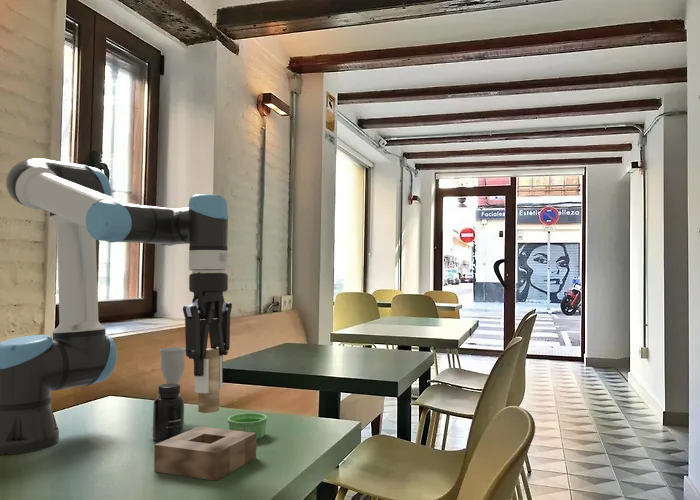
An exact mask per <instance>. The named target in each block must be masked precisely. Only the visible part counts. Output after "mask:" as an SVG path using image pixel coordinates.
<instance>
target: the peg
mask: <svg viewBox="0 0 700 500" xmlns="http://www.w3.org/2000/svg"><path fill="white" fill-rule="evenodd" d="M205 359H209V393H198V394H197V396H198V397H197V398H198V402H197V403H198V404H197V405H198V406H197V407H198V411H197V412H198V413H201V414H209V413H210V414H212V413H216V412H217V413H218V412H219V411H220V389H219V349H217V348H211V347H210V348H208V347H207V350H206V358H205Z"/></svg>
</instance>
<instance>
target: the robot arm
mask: <svg viewBox="0 0 700 500" xmlns="http://www.w3.org/2000/svg"><path fill="white" fill-rule="evenodd" d="M5 185H6V190H7V193H8V194H9V196H10V198H12V199H13V200H14V201H15V202H16V203H18V204H20V205H22V206H24V207H26V208H29V209H33V210H42V209H43V210H44V211H47V212H49V219H50V221H52V222H53V223H54V224H55V225H56V241H57V243H56V244H57V245H56V247H57V279H58V280H57V282H58V286H57V287H58V288H57V289H58V312H59V313H58V317H59V318H58V320H59V324H58V326H56V328H55V329H54V330H53V331H52V336H51V335H49V334H34V335H25V336H19V337H14V338H9V339H6V340H4V341H1V342H0V456H1V455H14V454H15V455H17V454H23V453H29V452H34V451H39V450H43V449H46V448H49V447H51V446H53V445H56V443H58V442H59V440H60V429H59V426H58V424H57V421H56V418H55V415H54V412H53V408H52V405H51V404H52V402H51V401H52V392H54V391H60V390H61V391H62V390H65V389H66V390H67V389H72V388H77V387H79V388H80V387H84V386H85V387H89V386H92V385H93V384H98V383H102V382H104V381H106V380H107V379H108V378H109V377H110V375H111V374H112V373H113V371H114V369H115V366H116V363H117V359H118V358H117V357H118V349H117V345H116V343H115V341H114V339H113V337H112V336H110V335H108V334H106V333H107V332H106V327H105V326H104V325H103V324H102V323H100V320H99V300H98V298H99V295H98V269H97V267H98V266H97V265H98V264H97V263H98V262H97V241H102V242H108V243H134V244H135V243H139V244H153V245H154V244H155V245H158V246H169V247H172V246H176V245H185V244H186V245H187V244H189V246H188V270H189V271H191V273H190V274H189V276H188V290H189V292H191V293H193V298H192V300H191V301H192V303H191V304H189V305H183V306H182V311H183V315H184V325H185V326H184V327H185V328H184V329H185V330H184V332H185V333H184V334H185V348H186V351H185V356H186V357H188V359H189V360H193V375H194V393H209V359H205V358H206V350H207V348H208V340H209V343H210V348H217V349H219V390H221V389H223V362H224V359H223V357H224V356H227V355H228V353H229V350H230V348H231V347H230V344H231V343H230V341H231V312H232V308H233V304H232V302H226V301H225V298H224V294H223V293H224V292H228V290H229V289H228V288H229V287H228V286H229V283H228V282H229V275H228V274H227V273H225V271H227V270H229V269H228V259H229V258H228V257H229V255H228V249H229V248H228V241H229V240H228V238H229V237H228V236H229V235H228V229H229V228H228V227H229V225H228V224H229V211H228V203H227V202H228V201H227V198H225V197H224V196H222V195H219V194H211V193H210V194H209V193H206V194H205V193H203V194H194V195H191V196H190V197H189V200H188V201H189V202H188V206H187V207H181V208H179V207H178V208H175V207H174V208H169V207H162V206H161V207H160V206H154V205H153V206H152V205H142V204H141V205H140V204H137V203H136V204H135V203H128V202H124V201H121V200H119V199H116V198H114V197H112V188H111V184H110V181H109V179H108V177H107V175H106V174H105V173H104V172H103V171H102V170H100V169H99V168H97V167H92V166H88V165H86V164H79V163H74V162H73V163H71V162H64V161H59V160H58V161H57V160H53V159H48V158H42V157H41V158H37V157H35V158H27V159H25V160H22V161H18V163H16V164H15V165H14V166H12V167H11V168H10V170H9V171H8V173H7V176H6V178H5Z"/></svg>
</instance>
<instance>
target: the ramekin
mask: <svg viewBox="0 0 700 500" xmlns="http://www.w3.org/2000/svg"><path fill="white" fill-rule="evenodd" d="M267 420H268V416H267V415H266V414H263V413H258V412H257V413H256V412H244V413H237V414H233V415H230V416H228V418H227V422H228V430H235V431H243V432H252V433H256V441H257V440H260V439H262V438H263V437H264V436H265V435H266V424H267Z"/></svg>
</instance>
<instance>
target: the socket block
mask: <svg viewBox="0 0 700 500" xmlns="http://www.w3.org/2000/svg"><path fill="white" fill-rule="evenodd" d="M153 457H154V462H153V463H154V472H156V473H157V472H158V473H163V474H170V475H171V474H172V475H176V476H177V475H178V476H184V477H190V478H197V479H204V480H211V481H216V482H217V481H218V480H220V479H222V478H223V477H225V476H227V475H229V474H231V473H233V472H234V471H236V470H237V469H239V468H241V467H243V466H244V465H246V464H247V463H250V462H251V461H253V460H255V459H256V458H257V440H256V433H252V432H243V431H235V430H229V429H226V428H217V427H206V426H196V427H194V428H192V429H189V430H187V431H184V433H182V434H179V435H177V436H174V437H172V438H170V439H167V440H165V441H162V442H161V441H159V442H158V443H155V444H154V455H153Z"/></svg>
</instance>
